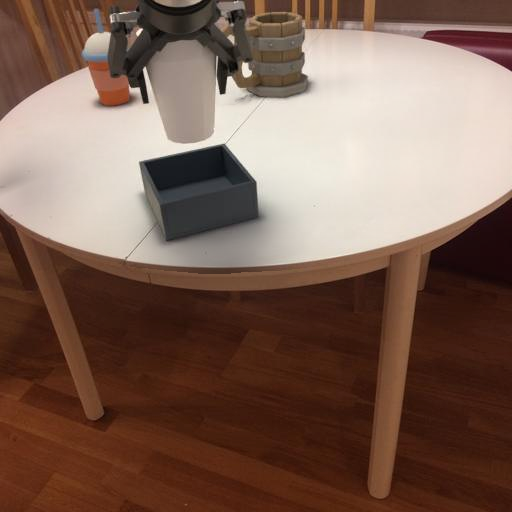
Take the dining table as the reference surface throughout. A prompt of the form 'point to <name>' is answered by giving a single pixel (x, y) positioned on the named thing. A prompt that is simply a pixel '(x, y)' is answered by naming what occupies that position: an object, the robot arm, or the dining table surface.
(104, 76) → the cup with straw
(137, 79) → the robot arm
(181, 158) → the bin
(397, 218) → the dining table surface
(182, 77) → the foam cup
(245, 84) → the tankard
